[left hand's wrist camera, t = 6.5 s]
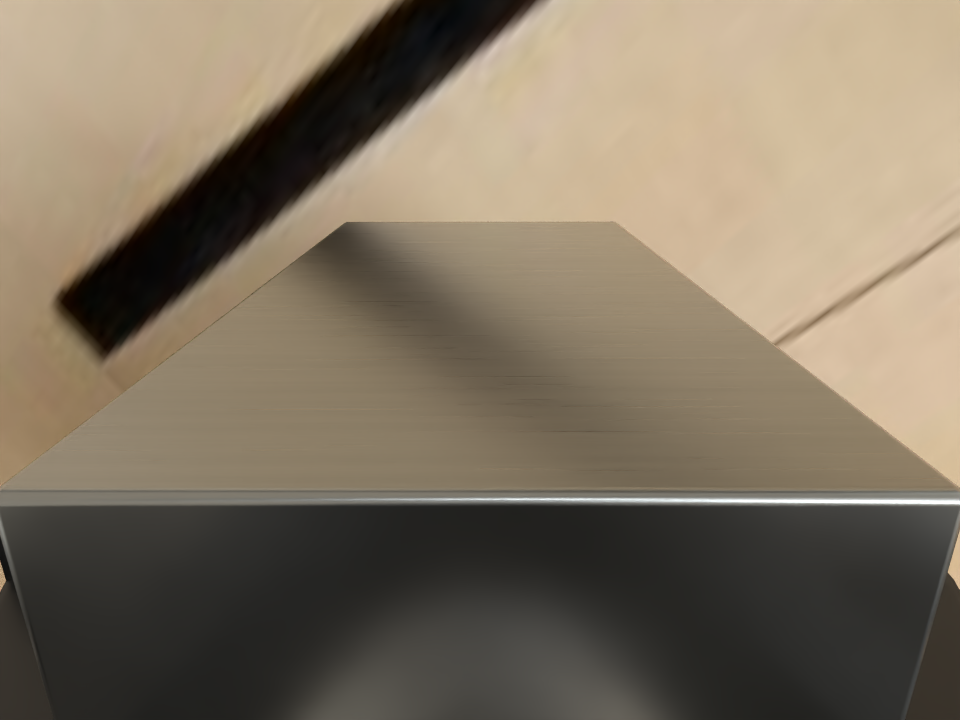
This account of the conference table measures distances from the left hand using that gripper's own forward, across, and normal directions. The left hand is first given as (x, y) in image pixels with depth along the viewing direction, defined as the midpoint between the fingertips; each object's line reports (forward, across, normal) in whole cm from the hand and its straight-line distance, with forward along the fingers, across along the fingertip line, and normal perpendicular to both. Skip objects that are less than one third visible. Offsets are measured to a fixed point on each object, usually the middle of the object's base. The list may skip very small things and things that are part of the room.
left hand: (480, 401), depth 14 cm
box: (+2, 0, -7) cm, 7 cm away
